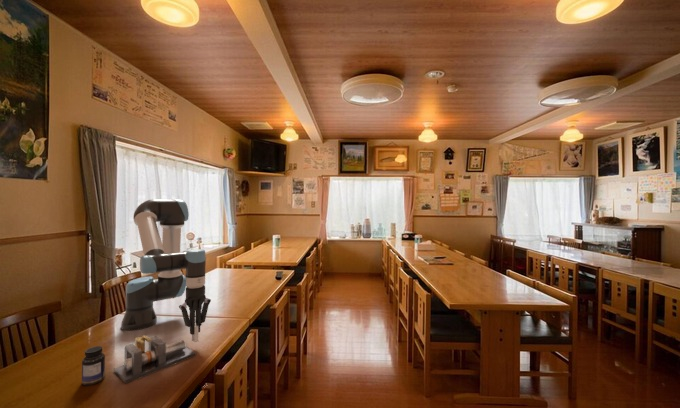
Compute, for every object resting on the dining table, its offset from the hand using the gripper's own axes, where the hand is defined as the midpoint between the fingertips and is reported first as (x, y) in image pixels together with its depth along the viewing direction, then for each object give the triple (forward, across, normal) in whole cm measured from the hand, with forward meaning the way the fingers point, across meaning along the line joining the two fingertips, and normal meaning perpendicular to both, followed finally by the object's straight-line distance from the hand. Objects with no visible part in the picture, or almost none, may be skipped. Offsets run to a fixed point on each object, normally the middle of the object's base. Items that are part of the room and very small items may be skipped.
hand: (195, 340), depth 126 cm
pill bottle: (+3, -33, +4) cm, 34 cm away
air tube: (+2, -15, 0) cm, 15 cm away
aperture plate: (+2, -19, +2) cm, 19 cm away
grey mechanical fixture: (+3, -15, 0) cm, 15 cm away
